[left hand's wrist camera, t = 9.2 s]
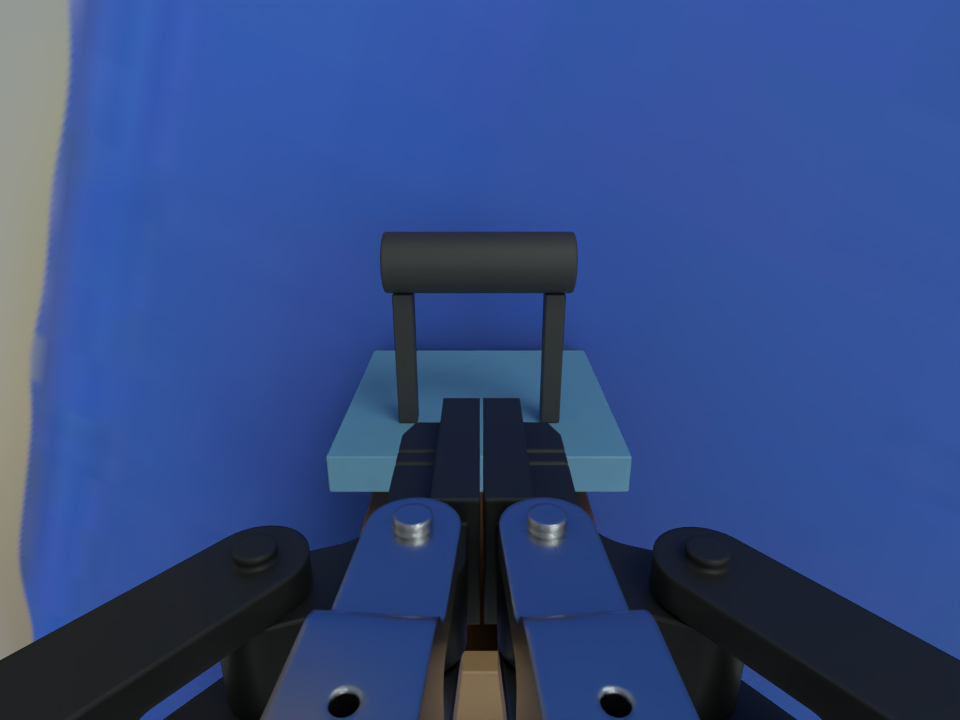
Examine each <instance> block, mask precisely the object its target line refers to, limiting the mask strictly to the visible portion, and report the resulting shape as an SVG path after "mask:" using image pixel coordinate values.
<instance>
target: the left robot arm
mask: <svg viewBox="0 0 960 720" xmlns="http://www.w3.org/2000/svg"><path fill="white" fill-rule="evenodd" d="M483 549H484V624H497V636H498V655H497V671H498V679H499V687H500V695H501V703H502V711H503V720H797V719H795V718H794V717H792V716H791V715H790V714H788V713H787V712H785V711H784V710H783V709H781V708H780V707H778V706H777V705H776V704H774V703H773V702H771V701H770V700H769V699H767V698H766V697H764V696H763V695H762V694H760V693H759V692H758V691H756V690H755V689H753V688H752V687H751V686H749V685H748V684H746V683H745V682H744V681H742V680H741V677H742V672H743V667H744V664H745V665H747V666H748V667H750V668H751V669H753V670H754V671H756V672H757V673H758V674H760V675H761V676H763V677H764V678H766V679H767V680H768V681H770V682H771V683H773V684H774V685H776V686H777V687H779V688H780V689H781V690H783V691H784V692H786V693H787V694H789V695H790V696H792V697H793V698H794V699H796V700H797V701H799V702H800V703H802V704H803V705H805V706H806V707H807V708H809V709H810V710H812V711H813V712H814V713H816V714H817V715H818V716H819V717H820V718H821V719H822V720H960V660H958V659H956V658H955V657H953V656H951V655H949V654H947V653H945V652H944V651H942V650H940V649H938V648H936V647H934V646H932V645H931V644H929V643H927V642H925V641H923V640H921V639H920V638H918V637H916V636H914V635H912V634H910V633H908V632H907V631H905V630H903V629H901V628H899V627H897V626H896V625H894V624H892V623H890V622H888V621H886V620H884V619H883V618H881V617H879V616H877V615H875V614H873V613H872V612H870V611H868V610H866V609H864V608H862V607H860V606H859V605H857V604H855V603H853V602H851V601H849V600H848V599H846V598H844V597H842V596H840V595H838V594H836V593H835V592H833V591H831V590H829V589H827V588H825V587H824V586H822V585H820V584H818V583H816V582H814V581H812V580H811V579H809V578H807V577H805V576H803V575H801V574H800V573H798V572H796V571H794V570H792V569H790V568H788V567H787V566H785V565H783V564H781V563H779V562H777V561H776V560H774V559H772V558H770V557H768V556H766V555H765V554H763V553H761V552H759V551H757V550H755V549H753V548H752V547H750V546H748V545H746V544H744V543H742V542H741V541H739V540H737V539H735V538H733V537H731V536H729V535H727V534H724V533H721V532H718V531H715V530H711V529H706V528H700V527H682V528H676V529H672V530H669V531H667V532H665V533H663V534H662V535H661V536H659V537H658V539H657V540H656V541H655V544H654V547H653V551H652V550H647V549H643V548H638V547H634V546H629V545H625V544H621V543H618V542H615V541H613V540H610V539H608V538H606V537H604V536H602V535H601V534H599V533H598V532H597V529H596V527H595V524H594V522H593V520H592V518H591V517H590V516H589V514H588V513H587V512H586V511H584V510H583V509H582V508H580V507H579V504H578V500H577V496H576V492H575V488H574V484H573V480H572V477H571V473H570V469H569V465H568V461H567V457H566V453H565V449H564V445H563V441H562V437H561V435H560V434H559V433H558V432H557V431H556V430H555V429H554V428H553V427H552V426H551V425H549V424H548V423H547V422H523V417H522V410H521V403H520V398H483ZM467 624H480V398H443V405H442V413H441V420H440V422H416V423H415V424H414V425H413V426H412V427H411V428H410V429H408V430H407V431H406V432H405V433H404V434H403V435H402V439H401V443H400V447H399V453H398V455H397V459H396V466H395V467H394V472H393V476H392V480H391V484H390V488H389V492H388V496H387V500H386V504H385V505H383V506H382V507H380V508H378V509H377V510H376V511H374V512H373V513H372V514H371V516H370V517H369V518H368V520H367V522H366V524H365V527H364V529H363V532H362V534H361V537H359V538H357V539H355V540H352V541H350V542H347V543H344V544H340V545H336V546H332V547H327V548H323V549H318V550H313V551H309V544H308V542H307V540H306V538H305V537H304V536H303V535H302V534H301V533H299V532H298V531H296V530H294V529H291V528H288V527H282V526H260V527H255V528H250V529H247V530H243V531H240V532H238V533H235V534H233V535H231V536H229V537H227V538H225V539H223V540H221V541H219V542H218V543H216V544H214V545H212V546H210V547H208V548H207V549H205V550H203V551H201V552H199V553H197V554H196V555H194V556H192V557H190V558H188V559H186V560H184V561H183V562H181V563H179V564H177V565H175V566H173V567H172V568H170V569H168V570H166V571H164V572H162V573H160V574H159V575H157V576H155V577H153V578H151V579H149V580H148V581H146V582H144V583H142V584H140V585H138V586H136V587H135V588H133V589H131V590H129V591H127V592H125V593H124V594H122V595H120V596H118V597H116V598H114V599H112V600H111V601H109V602H107V603H105V604H103V605H101V606H100V607H98V608H96V609H94V610H92V611H90V612H88V613H87V614H85V615H83V616H81V617H79V618H77V619H76V620H74V621H72V622H70V623H68V624H66V625H64V626H63V627H61V628H59V629H57V630H55V631H53V632H52V633H50V634H48V635H46V636H44V637H42V638H41V639H39V640H37V641H35V642H33V643H31V644H29V645H28V646H26V647H24V648H22V649H20V650H18V651H17V652H15V653H13V654H11V655H9V656H7V657H5V658H4V659H2V660H0V720H139V719H140V718H141V717H142V716H143V715H144V714H145V713H146V712H147V711H149V710H150V709H151V708H153V707H154V706H156V705H157V704H158V703H160V702H161V701H163V700H164V699H166V698H167V697H168V696H170V695H171V694H173V693H174V692H176V691H177V690H179V689H180V688H181V687H183V686H184V685H186V684H187V683H189V682H190V681H192V680H193V679H194V678H196V677H197V676H199V675H200V674H202V673H203V672H204V671H206V670H207V669H209V668H210V667H212V666H213V665H215V664H216V663H217V662H219V661H220V663H221V668H222V673H223V677H222V678H221V679H219V680H218V681H216V682H215V683H214V684H212V685H211V686H209V687H208V688H207V689H205V690H204V691H202V692H201V693H200V694H198V695H197V696H196V697H194V698H193V699H191V700H190V701H189V702H187V703H186V704H184V705H183V706H182V707H180V708H179V709H177V710H176V711H175V712H173V713H172V714H170V715H169V716H168V717H166V718H165V719H163V720H457V711H458V703H459V695H460V687H461V679H462V671H463V653H464V650H465V648H466V642H467Z"/></svg>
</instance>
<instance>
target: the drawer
mask: <svg viewBox="0 0 960 720" xmlns="http://www.w3.org/2000/svg"><path fill="white" fill-rule="evenodd" d="M380 267H381V279H382V285H383V288H384V291H385V292H386V293H393V295H392V303H393V321H394V340H395V351H374V353H373V355H372V357H371V359H370V362H369V364H368V366H367V368H366V371H365V373H364V375H363V377H362V379H361V382H360V384H359V386H358V388H357V390H356V393H355V395H354V397H353V399H352V401H351V404H350V406H349V408H348V410H347V413H346V415H345V417H344V419H343V421H342V424H341V426H340V428H339V430H338V432H337V435H336V437H335V439H334V441H333V443H332V446H331V448H330V450H329V452H328V455H327V457H326V460H327V470H328V480H329V490H330V492H372V494H371V497H370V501H369V504H368V508H367V511H366V515H365V518H364V522H363V525H362V532H363V529H364V527H365V524H366V522H367V520H368V518H369V517H370V516H371V514H372V513H373V512H374V511H376V510H377V509H378V508H380V507H382V506H383V505H385V504H386V500H387V496H388V492H389V488H390V484H391V480H392V476H393V472H394V467H395V466H396V459H397V455H398V453H399V447H400V443H401V439H402V435H403V434H404V433H405V432H406V431H407V430H408V429H410V428H411V427H412V426H413V425H414V424H415V423H416V422H440V420H441V413H442V405H443V398H480V624H467V642H466V648H465V650H464V651H498V636H497V624H484V549H483V398H520V403H521V410H522V417H523V422H547V423H548V424H549V425H551V426H552V427H553V428H554V429H555V430H556V431H557V432H558V433H559V434H560V435H561V437H562V441H563V445H564V449H565V453H566V457H567V461H568V465H569V469H570V473H571V477H572V480H573V484H574V488H575V492H576V496H577V500H578V504H579V507H580V508H582V509H583V510H584V511H586V512H587V513H588V514H589V516H590V517H591V518H592V520H593V522H594V524H595V520H594V517H593V513H592V510H591V506H590V503H589V499H588V496H587V492H628V490H629V480H630V470H631V460H632V457H631V454H630V452H629V450H628V448H627V445H626V443H625V441H624V439H623V437H622V434H621V432H620V430H619V428H618V425H617V423H616V421H615V419H614V416H613V414H612V412H611V410H610V407H609V405H608V403H607V401H606V398H605V396H604V394H603V392H602V389H601V387H600V385H599V383H598V380H597V378H596V376H595V374H594V372H593V369H592V367H591V365H590V363H589V360H588V358H587V356H586V354H585V351H583V350H563V340H564V320H565V300H566V296H565V293H571V292H573V290H574V288H575V284H576V277H577V241H576V237H575V234H574V233H573V232H385V233H384V234H383V236H382V240H381V250H380ZM414 293H544V300H543V326H542V350H539V351H417V350H416V325H415V300H414ZM595 527H596V524H595ZM596 528H597V527H596Z"/></svg>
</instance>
